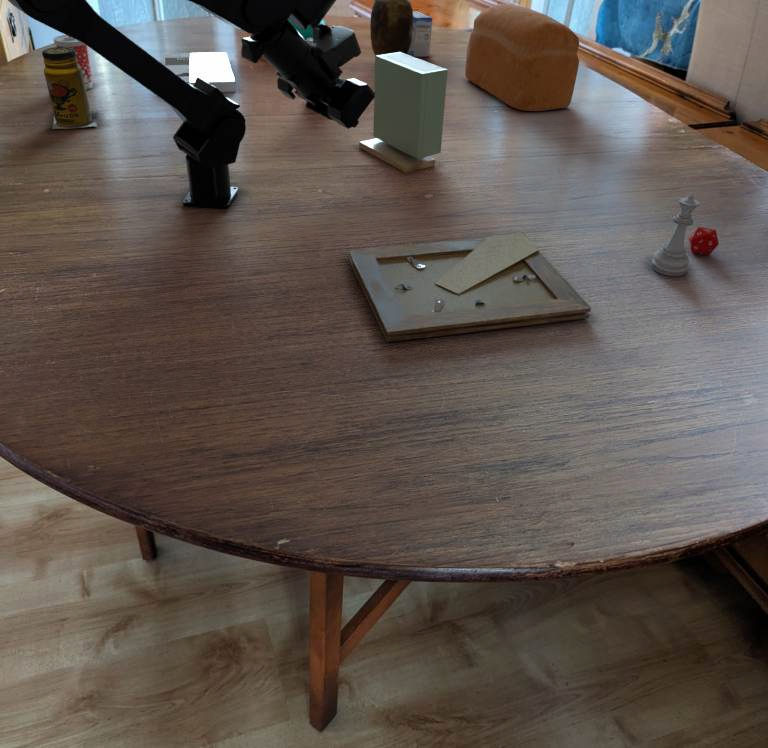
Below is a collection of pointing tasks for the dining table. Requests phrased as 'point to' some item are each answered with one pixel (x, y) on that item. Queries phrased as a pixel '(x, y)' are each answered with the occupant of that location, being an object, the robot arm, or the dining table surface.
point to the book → (202, 68)
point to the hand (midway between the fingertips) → (355, 124)
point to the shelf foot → (395, 156)
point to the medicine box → (420, 35)
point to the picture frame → (463, 287)
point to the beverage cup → (77, 55)
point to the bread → (523, 58)
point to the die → (703, 241)
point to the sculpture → (391, 26)
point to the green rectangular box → (409, 104)
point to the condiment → (67, 89)
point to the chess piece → (676, 242)
